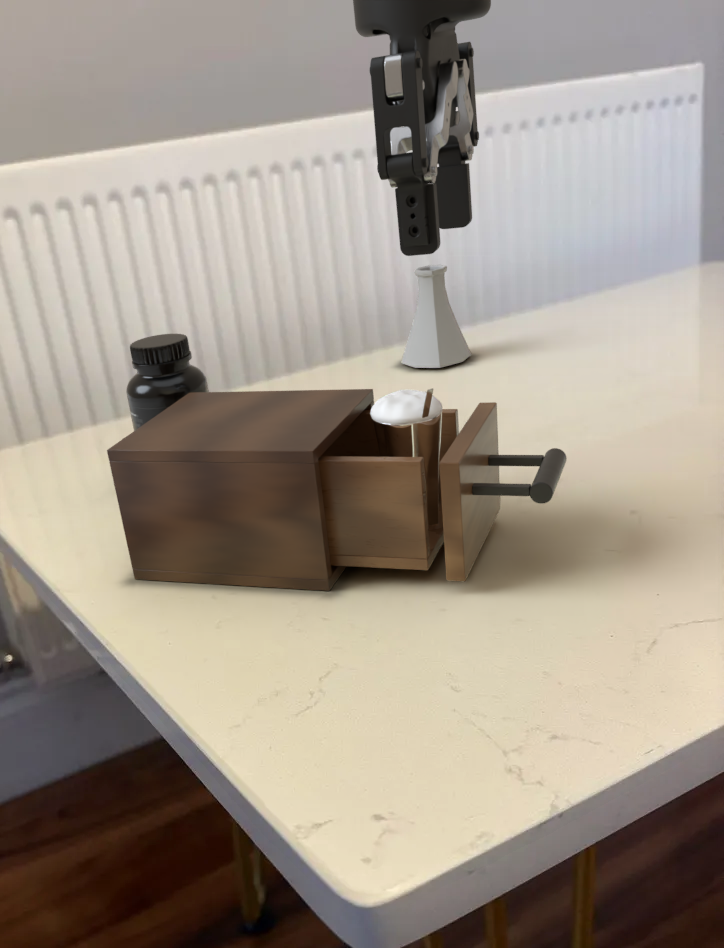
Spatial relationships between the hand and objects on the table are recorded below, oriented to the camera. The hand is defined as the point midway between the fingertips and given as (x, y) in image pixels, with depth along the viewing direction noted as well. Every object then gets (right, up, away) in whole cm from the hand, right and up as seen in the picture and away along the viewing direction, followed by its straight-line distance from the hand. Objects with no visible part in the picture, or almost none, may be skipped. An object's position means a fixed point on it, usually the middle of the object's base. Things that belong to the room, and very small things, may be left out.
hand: (438, 239), depth 63 cm
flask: (+8, +4, +50) cm, 51 cm away
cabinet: (-11, -18, +12) cm, 24 cm away
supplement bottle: (-18, -11, +27) cm, 35 cm away
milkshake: (0, -17, +6) cm, 18 cm away
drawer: (0, -18, +7) cm, 19 cm away
